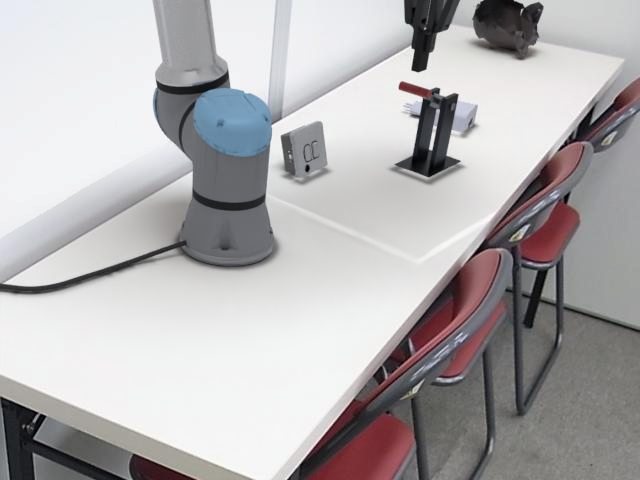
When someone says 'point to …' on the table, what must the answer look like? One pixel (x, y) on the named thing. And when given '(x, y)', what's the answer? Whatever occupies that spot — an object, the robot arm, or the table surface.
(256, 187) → the robot arm
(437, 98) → the lever
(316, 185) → the table surface
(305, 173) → the electrical switch
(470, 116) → the charger
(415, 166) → the bracket
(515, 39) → the dark grey rounded piece
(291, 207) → the table surface
